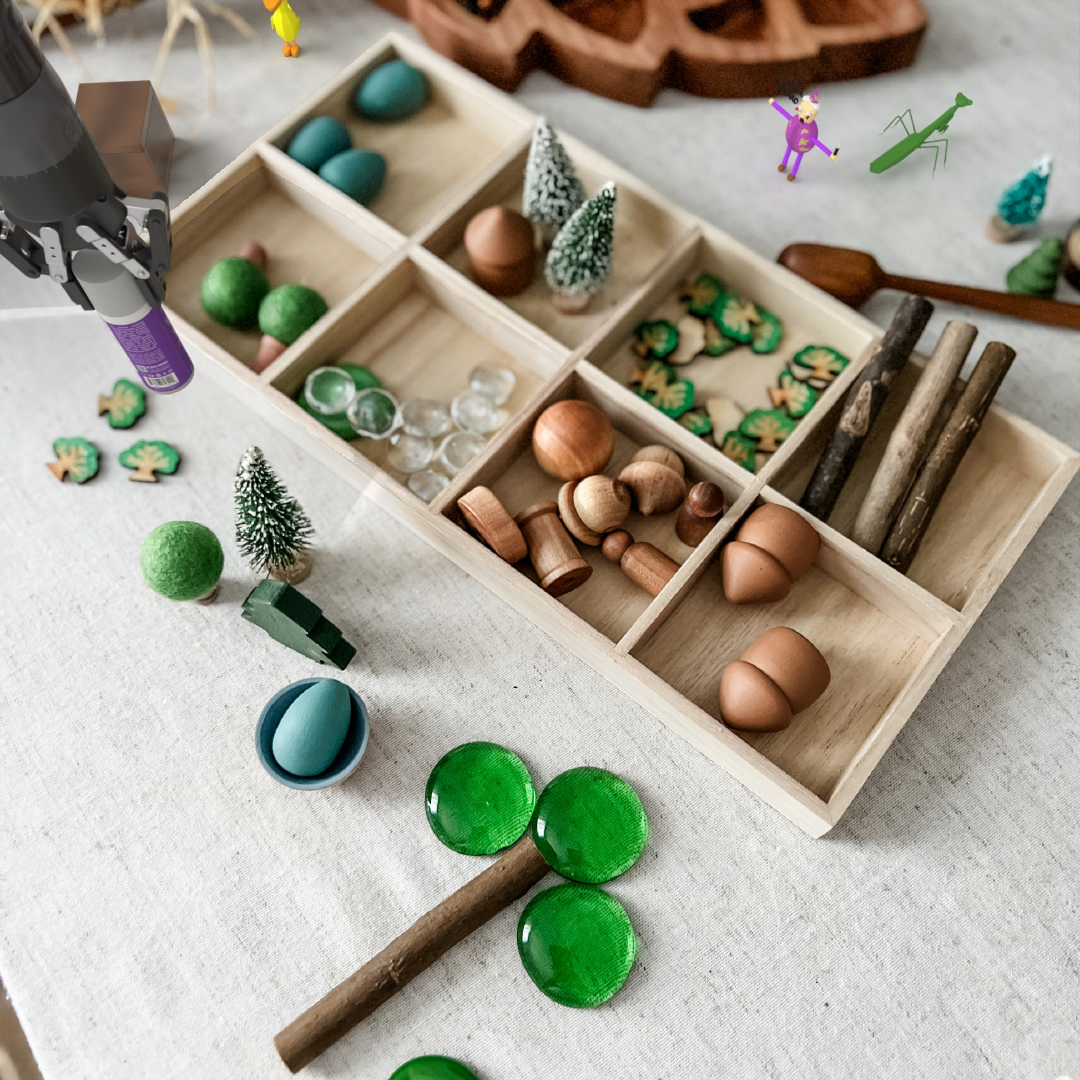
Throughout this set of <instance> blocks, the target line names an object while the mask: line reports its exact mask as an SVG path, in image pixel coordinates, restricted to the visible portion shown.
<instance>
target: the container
mask: <svg viewBox="0 0 1080 1080" xmlns="http://www.w3.org/2000/svg"><path fill="white" fill-rule="evenodd" d="M72 260H73V261H72V270H73V273H74V275H75V276H76V278H77V280H78V281H79V283H80V284H81V286H82V288H83V289H84V291H85V293H86V294H87V296H88V298H89V299H90V301H91V303H92V304H93V306H94V308H95V311H96V313H97V314H98V316H99V317H100V319H101V320H102V322H103V324H104V325H105V327H106V328H107V330H108V331H109V333H110V335H111V336H112V337H113V339H114V340H115V342H116V344H117V345H118V346H119V348H120V350H121V351H122V353H123V354H124V355H125V357H126V359H127V360H128V362H129V363H130V365H131V366H132V368H133V370H135V373H136V374H137V376H138V377H139V378H140V380H141V381H142V383H143V385H144V386H145V388H146V389H147V390H149V391H150V392H152V393H154V394H157V395H162V396H164V395H165V396H167V395H174V394H176V393H179V392H180V391H182V390H184V389H185V388H187V387H188V386H189V385H190V383H191V382H192V381H193V379H194V376H195V365H194V363H193V361H192V358H191V357H190V355H189V354H188V352H187V350H186V348H185V346H184V344H183V342H182V341H181V339H180V337H179V335H178V334H177V332H176V329H175V328H174V326H173V324H172V323H171V321H170V319H169V317H168V315H167V314H166V311H165V310H164V308H163V305H161V307H150V305H149V304H148V302H147V300H146V298H145V297H144V295H143V293H142V291H141V290H140V288H139V286H138V284H137V283H136V281H135V276H134V275H133V274H132V273H131V272H130V271H129V270H128V269H126V268H125V267H124V266H123V265H122V264H121V263H119V264H115V263H113V262H112V261H111V260H110V259H109V258H108V257H107V256H105V255H104V254H103V253H102V252H101V251H100V250H93V249H81V250H78V251H76V253H75V254H74V255H73V258H72Z"/></svg>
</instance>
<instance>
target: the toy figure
mask: <svg viewBox="0 0 1080 1080" xmlns="http://www.w3.org/2000/svg"><path fill="white" fill-rule="evenodd" d="M262 1H263V4H264V7H265V8H266V9H267V10H268V11H269V12H273V15H271V16H270V23H271V29H272V31H274V29H275V32H276V35H277V36H278V37H279V38H281V39H282V40H283V41H284V42H285V45H284V46H283V47H282V51H283V56H284V57H289V56H290V55H292V58H297V57H298V55H300V49H299V47H300V46H299V44H297V41H296V39H297V37H298V34H299V32H300V30H301V26H302V21H301V17H300V16H296V15H297V14H296V12H295V11H293V10H292V8H291V6H290V4H289V3H288V0H262ZM289 42H292V43H289ZM292 44H293V45H292Z"/></svg>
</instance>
